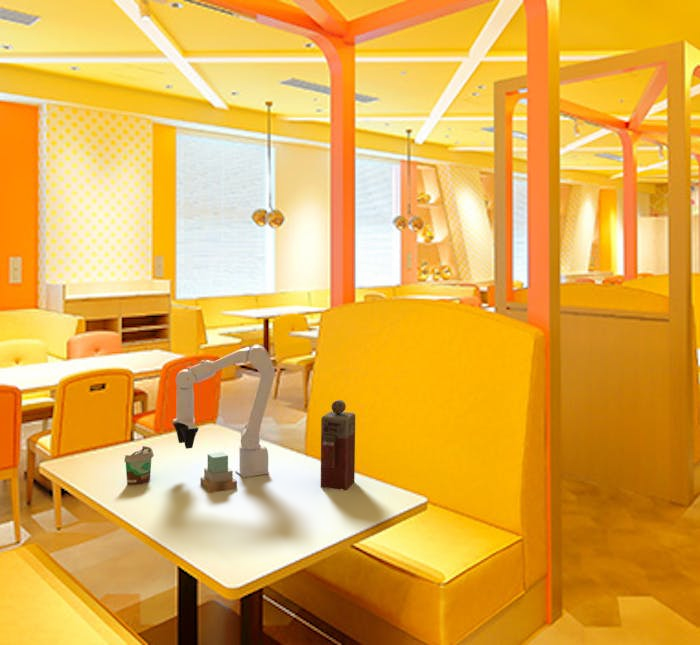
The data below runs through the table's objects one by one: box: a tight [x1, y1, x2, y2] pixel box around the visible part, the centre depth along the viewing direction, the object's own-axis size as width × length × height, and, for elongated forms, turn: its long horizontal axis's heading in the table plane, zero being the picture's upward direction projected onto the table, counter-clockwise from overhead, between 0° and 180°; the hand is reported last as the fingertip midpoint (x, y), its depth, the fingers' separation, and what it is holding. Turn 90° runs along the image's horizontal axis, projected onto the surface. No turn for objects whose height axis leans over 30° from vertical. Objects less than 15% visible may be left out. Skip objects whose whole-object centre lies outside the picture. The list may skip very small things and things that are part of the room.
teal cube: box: [207, 451, 229, 473], centre depth 218 cm, size 5×5×5 cm
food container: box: [123, 445, 155, 486], centre depth 223 cm, size 12×6×10 cm, turn 168°
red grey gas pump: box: [320, 399, 356, 491], centre depth 220 cm, size 9×11×28 cm
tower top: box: [203, 467, 234, 483], centre depth 219 cm, size 7×7×3 cm
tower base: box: [200, 476, 238, 494], centre depth 219 cm, size 9×9×3 cm
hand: (185, 445), depth 229 cm, fingers open, 7 cm apart
